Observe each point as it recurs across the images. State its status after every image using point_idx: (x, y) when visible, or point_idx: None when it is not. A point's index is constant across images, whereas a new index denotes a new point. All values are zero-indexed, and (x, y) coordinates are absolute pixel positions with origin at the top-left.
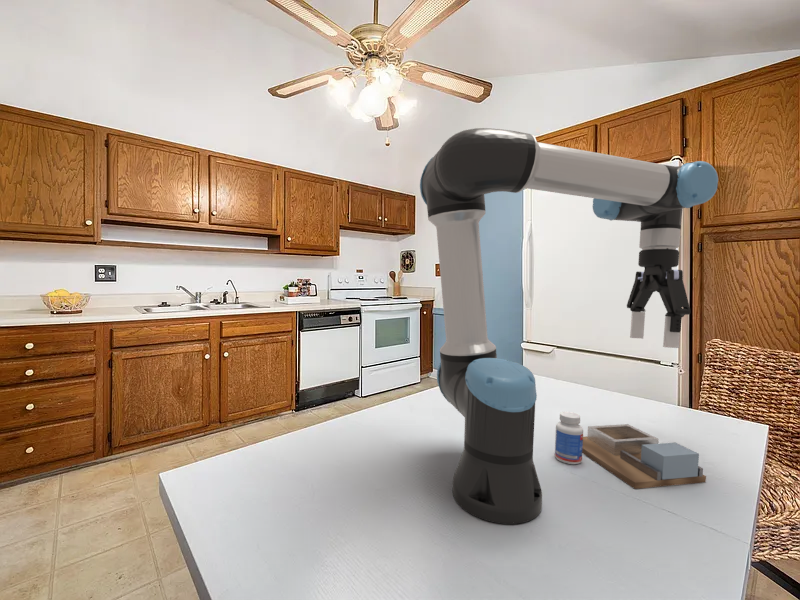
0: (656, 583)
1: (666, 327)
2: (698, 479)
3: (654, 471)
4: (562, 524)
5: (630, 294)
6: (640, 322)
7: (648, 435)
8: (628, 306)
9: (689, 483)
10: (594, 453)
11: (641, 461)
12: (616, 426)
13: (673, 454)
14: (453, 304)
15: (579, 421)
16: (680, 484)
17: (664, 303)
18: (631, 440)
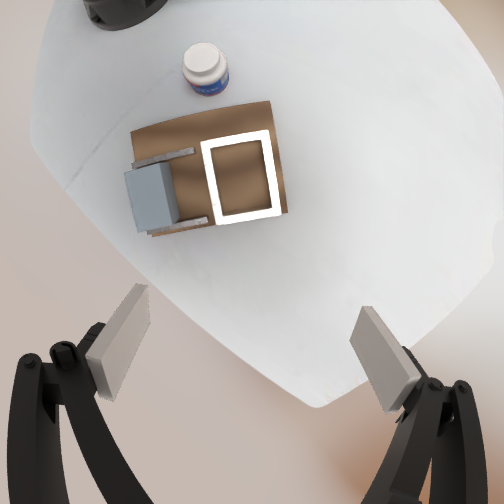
0: (37, 95)
1: (108, 324)
2: None
3: (136, 162)
4: (87, 44)
5: (480, 432)
6: (376, 370)
7: (230, 218)
8: (458, 386)
9: None
10: (209, 116)
11: (159, 159)
12: (269, 185)
13: (131, 191)
14: None
15: (188, 70)
16: None
17: (98, 420)
18: (206, 173)
